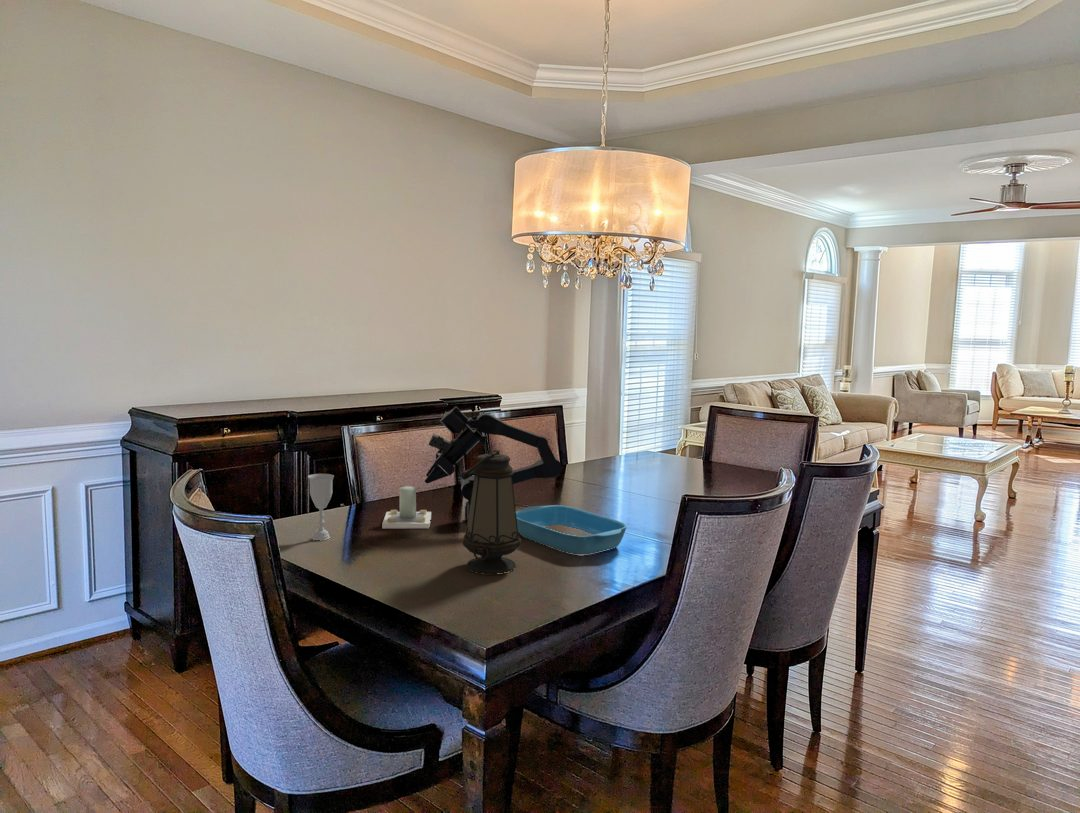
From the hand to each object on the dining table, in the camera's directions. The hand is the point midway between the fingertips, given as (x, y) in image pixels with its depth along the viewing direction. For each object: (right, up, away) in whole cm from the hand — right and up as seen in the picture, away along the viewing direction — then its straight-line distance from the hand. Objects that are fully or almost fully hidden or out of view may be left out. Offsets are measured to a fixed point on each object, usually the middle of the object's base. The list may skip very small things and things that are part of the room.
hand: (426, 479), depth 225 cm
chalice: (-27, -15, -19) cm, 36 cm away
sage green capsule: (-6, -12, +1) cm, 13 cm away
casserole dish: (+43, -17, -14) cm, 48 cm away
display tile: (-6, -13, +1) cm, 15 cm away
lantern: (+23, -19, -38) cm, 48 cm away
